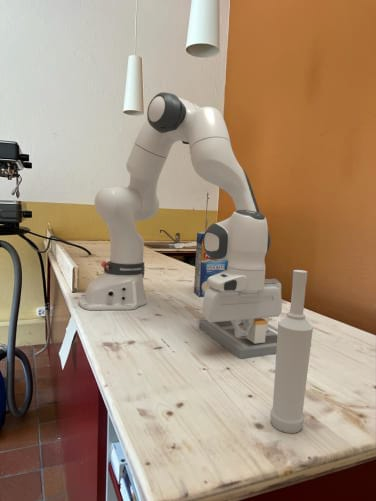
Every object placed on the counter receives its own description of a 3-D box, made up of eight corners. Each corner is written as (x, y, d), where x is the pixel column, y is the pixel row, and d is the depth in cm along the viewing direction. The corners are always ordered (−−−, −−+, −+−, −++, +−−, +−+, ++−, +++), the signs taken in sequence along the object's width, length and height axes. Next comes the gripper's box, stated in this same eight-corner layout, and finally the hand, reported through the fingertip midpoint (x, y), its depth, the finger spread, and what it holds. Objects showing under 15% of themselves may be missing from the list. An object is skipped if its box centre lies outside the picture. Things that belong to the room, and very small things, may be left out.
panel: (239, 358, 82) (242, 329, 81) (199, 327, 102) (200, 303, 101) (302, 350, 89) (304, 322, 88) (252, 322, 109) (254, 299, 108)
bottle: (265, 414, 60) (278, 267, 57) (295, 414, 61) (309, 268, 58) (275, 434, 55) (290, 273, 52) (308, 434, 55) (324, 274, 52)
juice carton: (221, 292, 146) (225, 233, 143) (228, 296, 139) (232, 235, 136) (193, 292, 143) (196, 232, 140) (198, 297, 136) (202, 234, 133)
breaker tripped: (254, 343, 85) (256, 321, 85) (245, 337, 89) (246, 316, 89) (265, 342, 87) (267, 320, 86) (255, 336, 90) (257, 315, 90)
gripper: (273, 275, 91) (269, 328, 93) (201, 278, 83) (197, 335, 85) (289, 281, 86) (285, 336, 87) (213, 284, 78) (209, 345, 79)
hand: (241, 336), depth 86 cm, fingers closed
